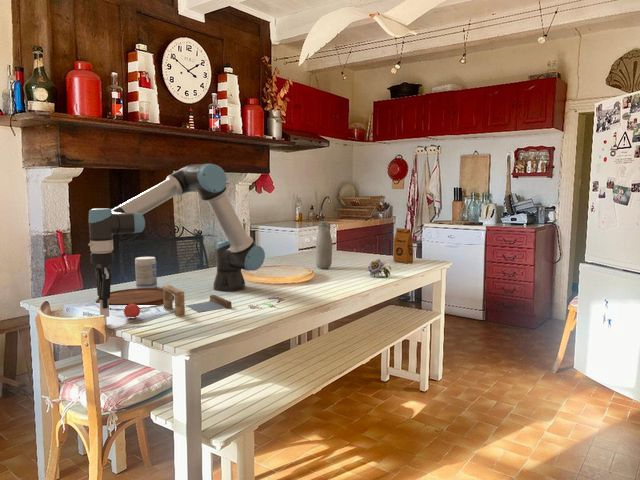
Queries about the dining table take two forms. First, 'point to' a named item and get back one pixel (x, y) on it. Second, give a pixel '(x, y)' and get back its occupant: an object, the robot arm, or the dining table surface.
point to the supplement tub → (146, 272)
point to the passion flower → (378, 268)
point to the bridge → (178, 299)
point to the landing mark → (205, 306)
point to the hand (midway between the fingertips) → (104, 316)
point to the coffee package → (403, 246)
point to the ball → (131, 310)
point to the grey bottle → (324, 246)
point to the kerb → (220, 301)
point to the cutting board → (136, 297)
